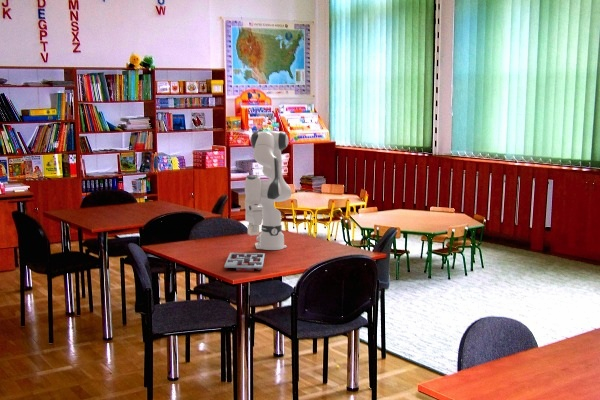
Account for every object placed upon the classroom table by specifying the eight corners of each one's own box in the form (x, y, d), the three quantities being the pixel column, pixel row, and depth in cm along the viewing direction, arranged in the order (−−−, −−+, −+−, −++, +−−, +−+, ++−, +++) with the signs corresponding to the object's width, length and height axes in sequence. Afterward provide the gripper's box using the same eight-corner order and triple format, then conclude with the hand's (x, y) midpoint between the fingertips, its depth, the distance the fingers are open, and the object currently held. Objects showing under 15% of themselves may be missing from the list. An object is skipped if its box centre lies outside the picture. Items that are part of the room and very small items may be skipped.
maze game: (230, 258, 405) (230, 252, 405) (264, 258, 406) (264, 253, 405) (224, 272, 371) (224, 265, 370) (262, 272, 371) (262, 266, 371)
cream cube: (247, 234, 388) (247, 224, 388) (256, 233, 390) (256, 224, 390) (250, 235, 384) (250, 226, 383) (259, 234, 385) (259, 225, 385)
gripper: (242, 204, 394) (242, 229, 395) (252, 207, 375) (252, 234, 376) (253, 203, 396) (253, 228, 397) (264, 207, 377) (264, 233, 378)
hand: (253, 231), depth 387 cm, fingers closed on cream cube, 5 cm apart
